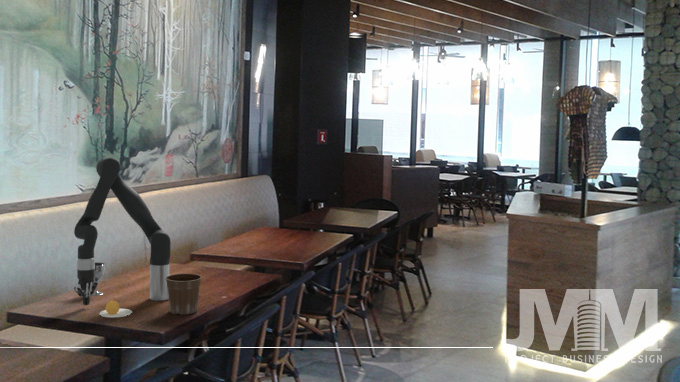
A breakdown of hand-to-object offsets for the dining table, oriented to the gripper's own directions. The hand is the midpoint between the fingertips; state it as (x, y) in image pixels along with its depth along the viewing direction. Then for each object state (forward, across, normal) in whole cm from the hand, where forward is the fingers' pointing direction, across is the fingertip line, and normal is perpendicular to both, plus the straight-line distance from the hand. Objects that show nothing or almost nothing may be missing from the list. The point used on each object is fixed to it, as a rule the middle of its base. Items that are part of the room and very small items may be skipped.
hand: (86, 304), depth 322 cm
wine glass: (+2, -22, -14) cm, 26 cm away
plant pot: (+2, -17, +41) cm, 45 cm away
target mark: (+2, 0, +17) cm, 17 cm away
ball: (-2, +2, +17) cm, 17 cm away
